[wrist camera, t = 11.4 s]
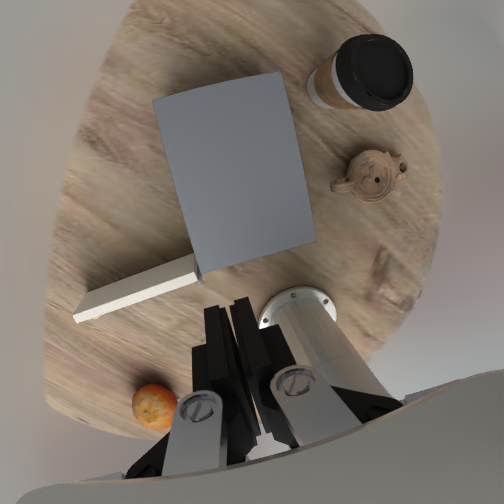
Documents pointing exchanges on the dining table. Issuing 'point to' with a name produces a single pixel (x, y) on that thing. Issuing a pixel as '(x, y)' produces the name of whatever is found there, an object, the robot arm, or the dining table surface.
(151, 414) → the fruit
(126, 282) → the door
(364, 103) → the coffee cup
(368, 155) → the oil lamp
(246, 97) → the cabinet
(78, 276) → the dining table surface
